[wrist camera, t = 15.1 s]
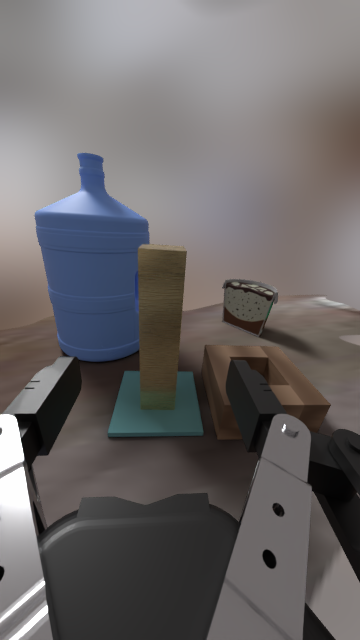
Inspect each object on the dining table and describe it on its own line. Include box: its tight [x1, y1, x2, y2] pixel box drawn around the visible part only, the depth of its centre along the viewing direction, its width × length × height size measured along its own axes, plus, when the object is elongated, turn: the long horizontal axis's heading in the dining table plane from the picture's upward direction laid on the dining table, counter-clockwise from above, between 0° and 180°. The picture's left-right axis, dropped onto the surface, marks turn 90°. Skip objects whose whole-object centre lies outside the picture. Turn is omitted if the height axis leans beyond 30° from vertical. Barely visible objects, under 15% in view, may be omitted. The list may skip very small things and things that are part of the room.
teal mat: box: [108, 371, 203, 437], centre depth 27 cm, size 10×10×1 cm
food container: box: [222, 279, 278, 337], centre depth 47 cm, size 12×6×10 cm, turn 44°
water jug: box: [35, 153, 149, 362], centre depth 34 cm, size 16×16×28 cm
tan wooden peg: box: [138, 244, 187, 410], centre depth 23 cm, size 4×4×18 cm
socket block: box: [201, 345, 331, 440], centre depth 27 cm, size 11×11×5 cm
